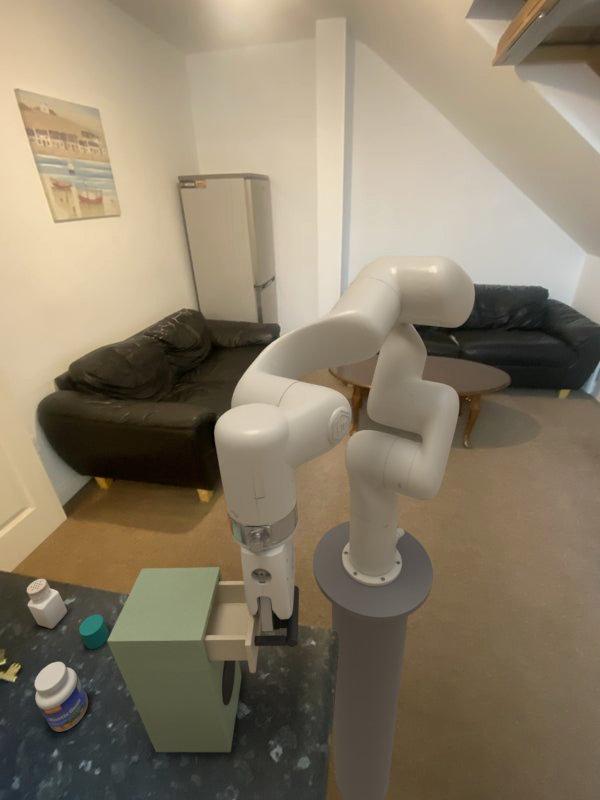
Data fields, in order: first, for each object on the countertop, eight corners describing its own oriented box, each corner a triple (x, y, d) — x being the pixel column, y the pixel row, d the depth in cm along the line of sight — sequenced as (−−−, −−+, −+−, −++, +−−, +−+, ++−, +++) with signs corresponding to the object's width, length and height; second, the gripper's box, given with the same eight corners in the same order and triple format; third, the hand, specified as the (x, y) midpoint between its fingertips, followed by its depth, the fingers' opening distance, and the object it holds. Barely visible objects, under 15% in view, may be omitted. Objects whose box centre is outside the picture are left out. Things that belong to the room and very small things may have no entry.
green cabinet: (243, 675, 62) (222, 566, 51) (232, 752, 53) (203, 640, 42) (177, 676, 63) (141, 568, 52) (155, 752, 54) (106, 641, 43)
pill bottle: (54, 742, 55) (30, 706, 51) (47, 710, 59) (25, 675, 55) (93, 712, 59) (74, 677, 54) (84, 684, 62) (66, 649, 58)
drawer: (300, 594, 54) (298, 567, 51) (298, 672, 44) (296, 644, 42) (190, 595, 54) (183, 569, 52) (165, 673, 45) (155, 646, 42)
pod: (104, 623, 72) (99, 610, 70) (112, 638, 69) (106, 624, 68) (82, 638, 69) (76, 624, 68) (89, 654, 67) (82, 640, 65)
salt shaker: (54, 607, 76) (37, 574, 72) (69, 611, 75) (53, 578, 70) (36, 625, 72) (18, 592, 68) (52, 630, 71) (35, 597, 67)
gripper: (294, 571, 33) (303, 687, 41) (299, 471, 47) (305, 573, 55) (213, 572, 34) (237, 686, 42) (240, 473, 47) (255, 573, 55)
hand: (276, 622), depth 48 cm, fingers closed
